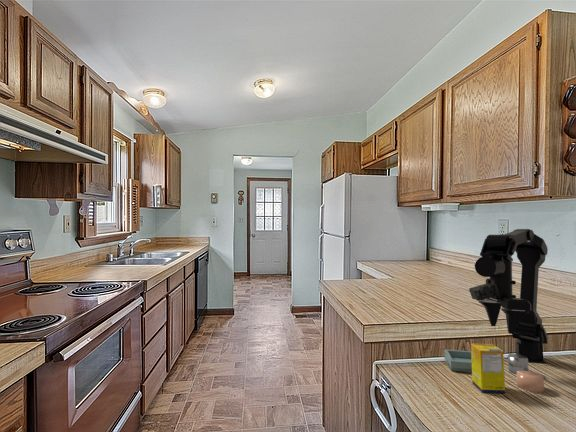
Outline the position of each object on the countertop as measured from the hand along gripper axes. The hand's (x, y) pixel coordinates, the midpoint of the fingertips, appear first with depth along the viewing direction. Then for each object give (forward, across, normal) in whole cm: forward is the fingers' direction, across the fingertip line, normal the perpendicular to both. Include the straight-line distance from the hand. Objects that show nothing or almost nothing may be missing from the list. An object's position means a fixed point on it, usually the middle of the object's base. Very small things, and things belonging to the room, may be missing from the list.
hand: (501, 329), depth 99 cm
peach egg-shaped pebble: (+14, +8, +3) cm, 16 cm away
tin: (+13, -3, +6) cm, 15 cm away
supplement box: (+14, +8, -8) cm, 18 cm away
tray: (+13, -7, -7) cm, 17 cm away
